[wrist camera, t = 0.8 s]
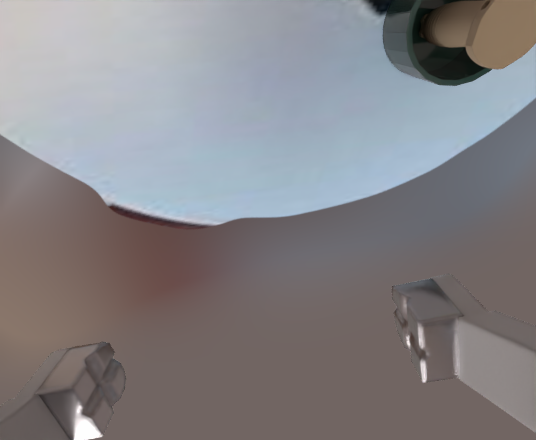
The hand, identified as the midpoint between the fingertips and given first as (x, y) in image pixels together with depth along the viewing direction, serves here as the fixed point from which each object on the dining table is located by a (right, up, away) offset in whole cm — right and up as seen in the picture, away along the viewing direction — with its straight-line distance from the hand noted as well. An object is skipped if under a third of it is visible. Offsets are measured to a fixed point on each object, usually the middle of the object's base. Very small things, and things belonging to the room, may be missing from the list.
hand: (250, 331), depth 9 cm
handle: (+19, +25, +28) cm, 43 cm away
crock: (+19, +25, +29) cm, 43 cm away
